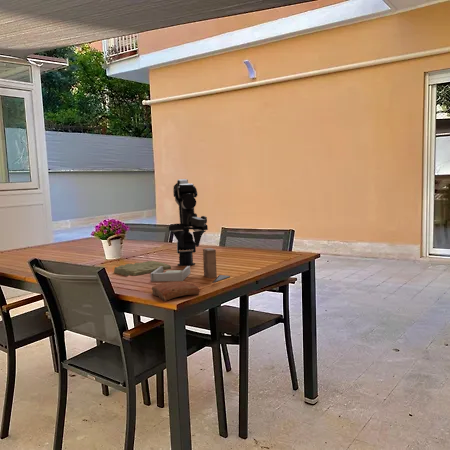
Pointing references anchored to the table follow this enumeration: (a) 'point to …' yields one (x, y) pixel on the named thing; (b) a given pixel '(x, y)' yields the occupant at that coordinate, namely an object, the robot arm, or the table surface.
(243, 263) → the table surface
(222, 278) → the mat
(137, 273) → the decorative tile
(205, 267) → the brown rectangular block
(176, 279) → the rack
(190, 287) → the ceramic shard
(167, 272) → the offcut
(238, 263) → the table surface
